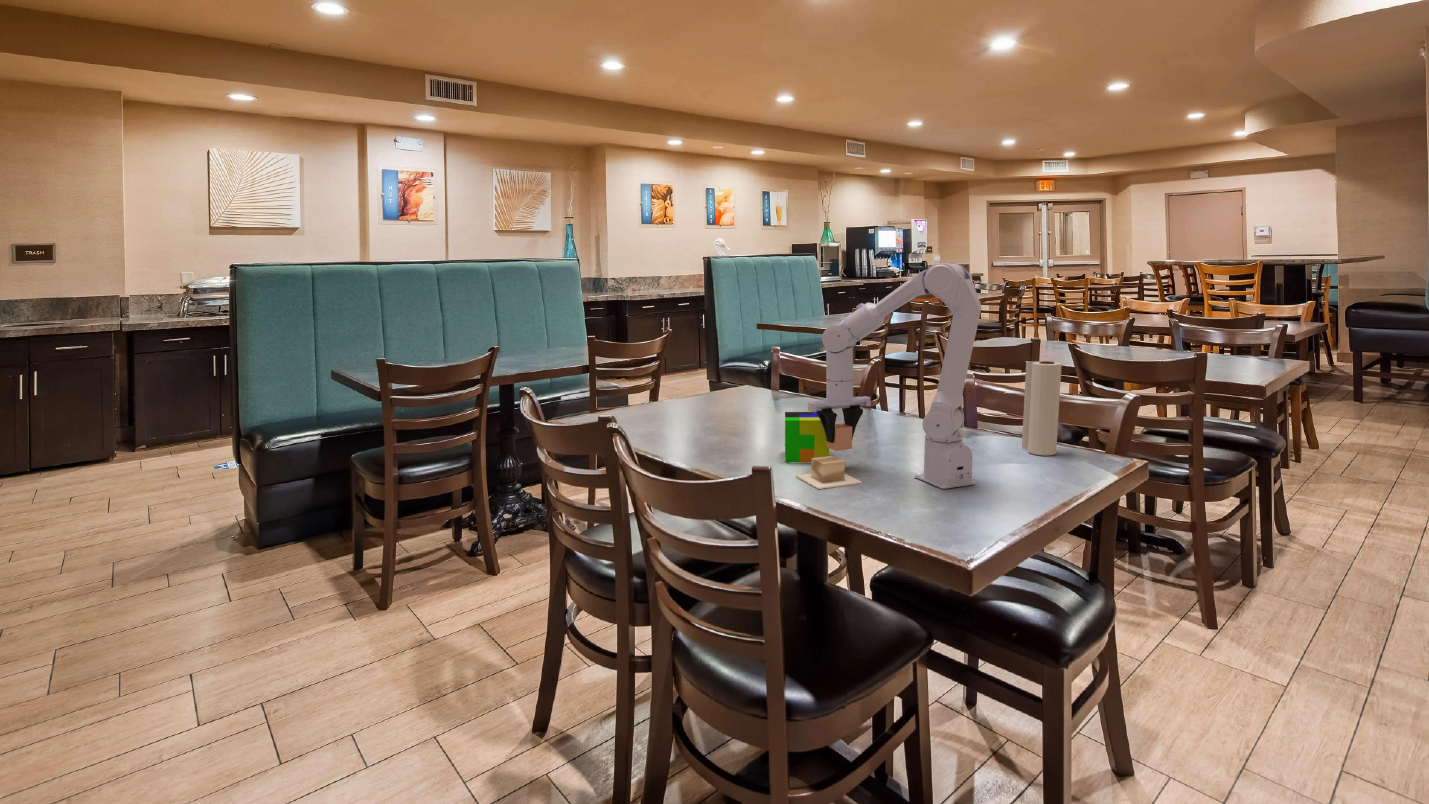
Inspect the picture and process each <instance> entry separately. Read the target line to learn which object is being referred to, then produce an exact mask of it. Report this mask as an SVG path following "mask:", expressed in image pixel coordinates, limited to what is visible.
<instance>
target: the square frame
mask: <svg viewBox="0 0 1429 804" xmlns="http://www.w3.org/2000/svg"><path fill="white" fill-rule="evenodd" d="M796 477H797V478H796ZM795 478H796V479H798V478H800V479H801V480H800V479H799V480H800V481H802V480H803V481H805V482H807V483H808V484H807V483H806V484H807V485H809V484H811V485H812V486H813V488H814V487H816V488H817V489H816V488H815V489H816V490H818V489H821V490H824V489H823V488H828V489H830V488H829V487H835V488H841V487H847V486H855V485H861V484H863V482H862V481H861V480H858V479H857V478H855V477H852V476H850V475H849V474H846V473H845V480H840V481H833V482H826V483H822V482H821V481H819V480H817V479H815V478H813V477H812V472H811V473H805V474H804V473H803V474H797V475H795ZM803 481H802V482H803ZM805 482H804V483H805ZM811 485H810V486H811ZM812 486H811V487H812Z"/></svg>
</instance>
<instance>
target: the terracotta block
mask: <svg viewBox="0 0 1429 804" xmlns="http://www.w3.org/2000/svg"><path fill="white" fill-rule="evenodd" d="M827 447H828V448H829V450H833V451H834V452H838V451H840V452H841V451H846V450H847V451H848V450H852V449H853V440H852V426H849V425H846V424H844V422H843V423H835V439H834V443H830V442H827Z"/></svg>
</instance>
